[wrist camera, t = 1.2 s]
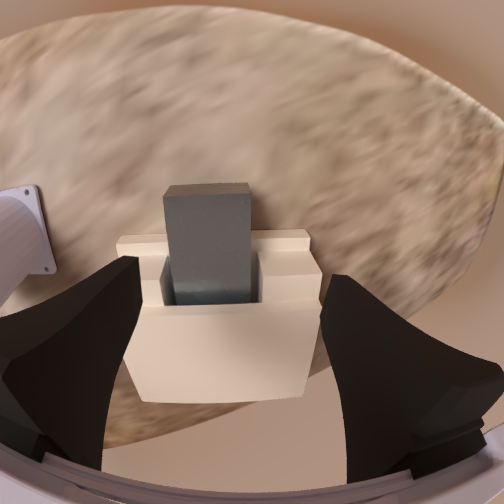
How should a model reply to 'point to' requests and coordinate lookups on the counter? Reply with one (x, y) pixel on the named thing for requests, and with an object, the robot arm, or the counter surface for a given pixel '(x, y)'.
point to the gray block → (209, 242)
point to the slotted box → (226, 326)
